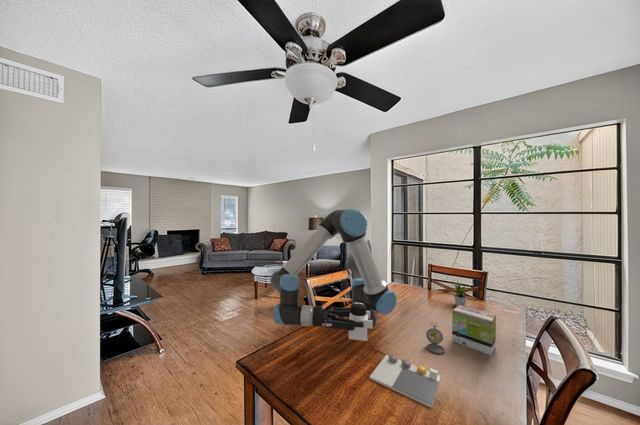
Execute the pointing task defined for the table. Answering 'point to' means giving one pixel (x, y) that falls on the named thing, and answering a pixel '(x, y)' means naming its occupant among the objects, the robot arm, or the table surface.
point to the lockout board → (407, 379)
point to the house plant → (459, 294)
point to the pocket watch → (435, 340)
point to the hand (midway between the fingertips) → (371, 319)
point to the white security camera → (358, 313)
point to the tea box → (474, 329)
